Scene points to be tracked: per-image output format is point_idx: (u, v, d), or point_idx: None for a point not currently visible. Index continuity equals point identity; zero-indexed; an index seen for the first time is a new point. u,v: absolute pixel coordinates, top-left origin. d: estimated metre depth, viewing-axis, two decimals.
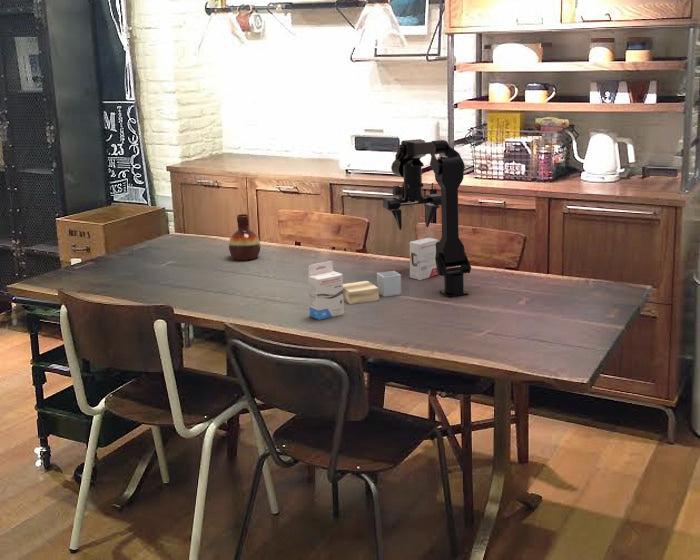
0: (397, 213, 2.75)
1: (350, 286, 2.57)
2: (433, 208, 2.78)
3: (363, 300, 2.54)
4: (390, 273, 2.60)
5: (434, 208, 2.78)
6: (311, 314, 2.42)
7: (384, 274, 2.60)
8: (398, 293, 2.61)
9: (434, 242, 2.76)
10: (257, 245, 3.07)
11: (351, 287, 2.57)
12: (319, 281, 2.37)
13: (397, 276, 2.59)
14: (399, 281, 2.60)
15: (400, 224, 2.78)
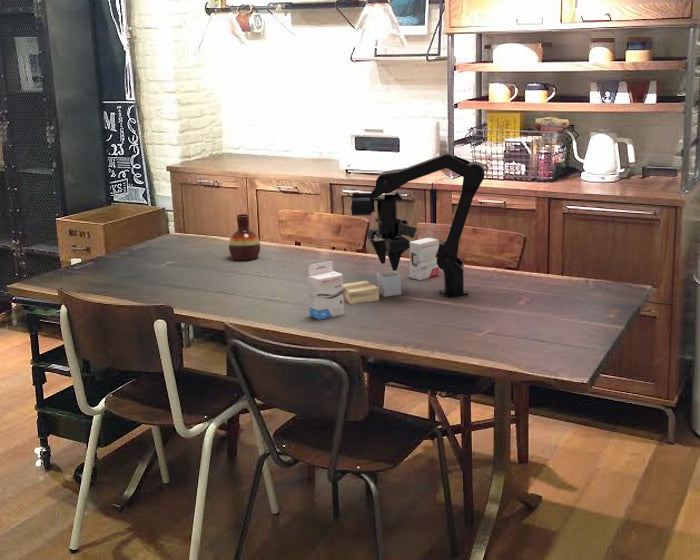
0: (372, 244, 2.64)
1: (350, 286, 2.57)
2: (386, 251, 2.53)
3: (364, 300, 2.54)
4: (390, 273, 2.60)
5: (387, 251, 2.52)
6: (311, 314, 2.42)
7: (384, 274, 2.60)
8: (398, 293, 2.61)
9: (434, 242, 2.76)
10: (257, 245, 3.07)
11: (351, 287, 2.57)
12: (319, 281, 2.37)
13: (397, 276, 2.59)
14: (399, 281, 2.60)
15: (378, 257, 2.64)
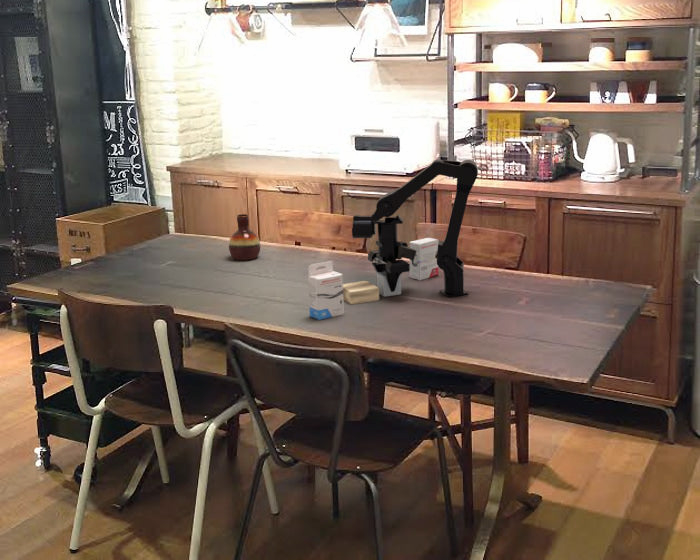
0: (374, 267, 2.64)
1: (350, 286, 2.57)
2: (384, 272, 2.56)
3: (364, 300, 2.54)
4: None
5: (385, 273, 2.56)
6: (311, 314, 2.42)
7: (384, 274, 2.60)
8: (398, 292, 2.61)
9: (434, 242, 2.76)
10: (257, 245, 3.07)
11: (352, 287, 2.57)
12: (319, 281, 2.37)
13: None
14: (399, 281, 2.60)
15: None
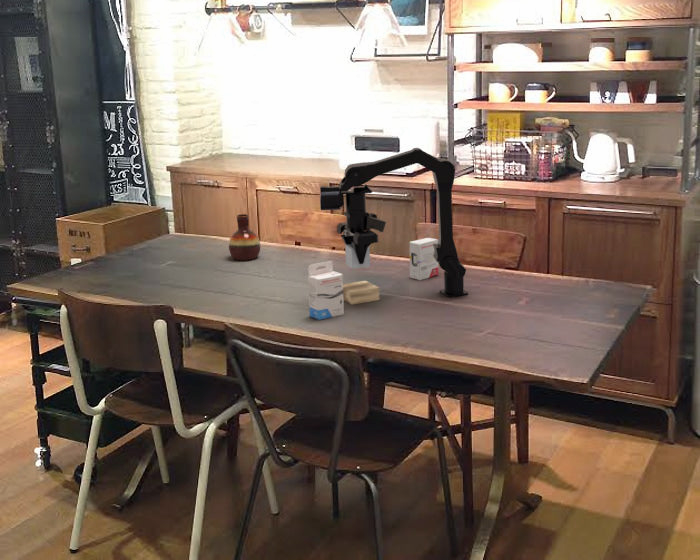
0: (343, 239, 2.57)
1: (350, 286, 2.57)
2: (352, 244, 2.49)
3: (365, 300, 2.54)
4: None
5: (353, 244, 2.49)
6: (311, 314, 2.42)
7: (352, 246, 2.53)
8: (367, 265, 2.54)
9: (434, 242, 2.76)
10: (257, 245, 3.07)
11: (352, 287, 2.57)
12: (319, 281, 2.37)
13: None
14: (367, 253, 2.53)
15: None
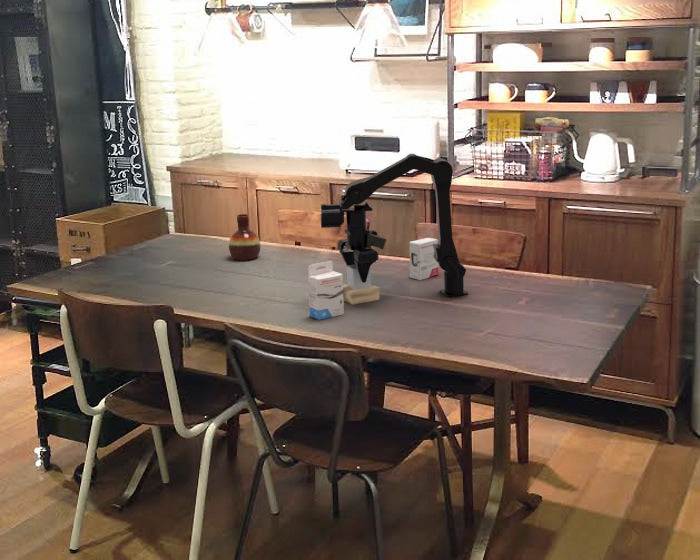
0: None
1: None
2: (355, 262, 2.49)
3: (365, 300, 2.55)
4: None
5: (355, 263, 2.49)
6: (311, 314, 2.42)
7: (354, 267, 2.55)
8: (368, 286, 2.56)
9: (434, 242, 2.76)
10: (257, 245, 3.07)
11: None
12: (319, 281, 2.37)
13: None
14: (369, 274, 2.55)
15: None
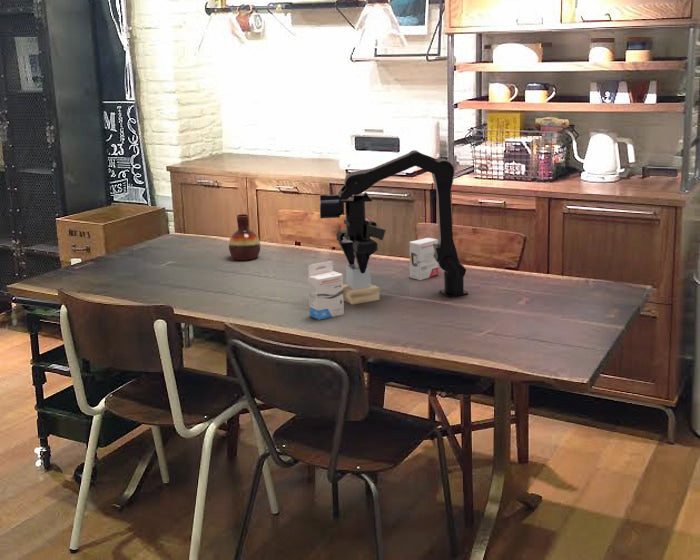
0: None
1: None
2: (354, 253, 2.48)
3: (365, 300, 2.55)
4: None
5: (354, 253, 2.48)
6: (311, 314, 2.42)
7: (353, 267, 2.55)
8: (368, 286, 2.56)
9: (434, 242, 2.76)
10: (257, 245, 3.07)
11: None
12: (319, 281, 2.37)
13: (366, 269, 2.54)
14: (368, 274, 2.55)
15: (347, 259, 2.60)
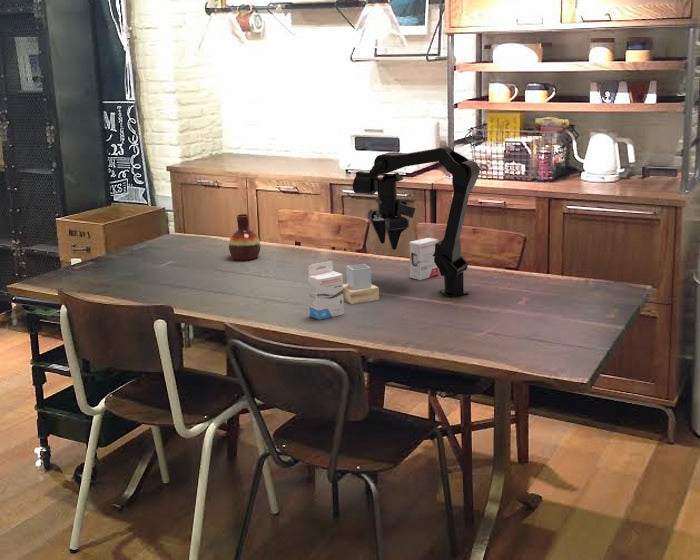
0: (372, 224, 2.70)
1: (349, 287, 2.57)
2: (386, 230, 2.59)
3: (365, 300, 2.55)
4: (360, 266, 2.55)
5: (386, 230, 2.58)
6: (311, 314, 2.42)
7: (354, 267, 2.55)
8: (368, 286, 2.55)
9: (434, 242, 2.76)
10: (257, 245, 3.07)
11: None
12: (319, 281, 2.37)
13: (367, 269, 2.54)
14: (369, 274, 2.54)
15: (378, 237, 2.70)
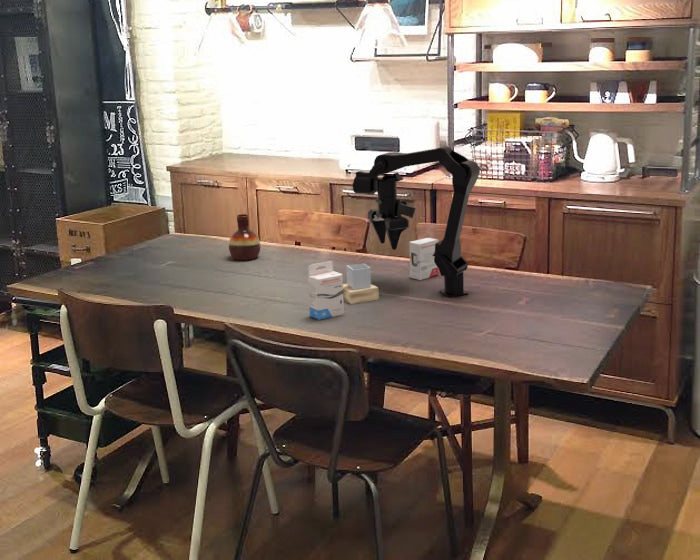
0: (372, 224, 2.70)
1: (349, 287, 2.57)
2: (386, 230, 2.59)
3: (364, 300, 2.55)
4: (360, 266, 2.55)
5: (386, 230, 2.59)
6: (311, 314, 2.42)
7: (353, 267, 2.55)
8: (368, 286, 2.56)
9: (434, 242, 2.76)
10: (257, 245, 3.07)
11: None
12: (319, 281, 2.37)
13: (366, 269, 2.54)
14: (368, 274, 2.55)
15: (378, 237, 2.70)
